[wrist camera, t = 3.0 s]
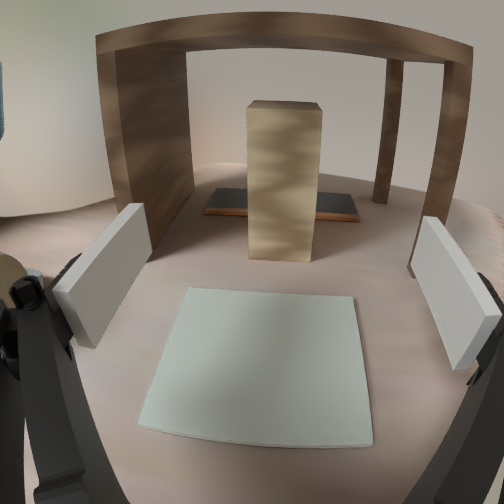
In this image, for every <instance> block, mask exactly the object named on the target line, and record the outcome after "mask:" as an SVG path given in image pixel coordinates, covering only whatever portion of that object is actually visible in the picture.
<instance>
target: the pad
mask: <svg viewBox="0 0 504 504" xmlns="http://www.w3.org/2000/svg"><path fill="white" fill-rule="evenodd" d="M137 424H138V426H139V427H143V428H147V429H151V430H156V431H161V432H165V433H170V434H175V435H181V436H186V437H192V438H198V439H204V440H211V441H218V442H226V443H234V444H244V445H255V446H267V447H285V448H354V447H371V446H372V445H373V433H372V423H371V413H370V405H369V397H368V389H367V381H366V374H365V367H364V360H363V354H362V348H361V341H360V335H359V330H358V324H357V318H356V313H355V307H354V302H353V297H352V296H327V295H305V294H286V293H268V292H252V291H237V290H223V289H209V288H197V287H188V289H187V292H186V294H185V297H184V299H183V302H182V304H181V307H180V309H179V312H178V314H177V317H176V319H175V322H174V324H173V327H172V329H171V332H170V335H169V337H168V340H167V342H166V345H165V348H164V350H163V353H162V356H161V358H160V361H159V364H158V366H157V369H156V372H155V374H154V377H153V380H152V382H151V385H150V388H149V391H148V393H147V396H146V399H145V402H144V405H143V407H142V410H141V413H140V416H139V419H138V422H137Z"/></svg>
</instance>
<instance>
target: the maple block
mask: <svg viewBox="0 0 504 504" xmlns="http://www.w3.org/2000/svg"><path fill="white" fill-rule="evenodd" d="M246 111H247V112H246V113H247V114H246V117H247V185H248V245H249V259H256V260H274V261H293V262H310V260H311V251H312V242H313V233H314V222H315V212H316V201H317V189H318V177H319V163H320V148H321V132H322V113H323V112H322V110H321V109H320V107H319V106H318V104H317V103H312V102H295V101H264V100H254V101H253V102H252V103H251V104H250V105H249V106H248V107H247V109H246Z"/></svg>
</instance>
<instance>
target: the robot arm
mask: <svg viewBox="0 0 504 504" xmlns="http://www.w3.org/2000/svg"><path fill="white" fill-rule="evenodd" d="M1 64H2V63H1V62H0V140H1V138H2V137H3V134H4V114H3V90H2V65H1ZM151 254H152V247H151V242H150V237H149V232H148V227H147V221H146V216H145V210H144V205H143V203H129V204H128V205H127V206H126V207H125V208H124V209H123V210H122V211H121V212H120V213H119V214H118V215H117V216H116V218H115V219H114V220H113V221H112V222H111V223H110V224H109V225H108V226H107V227H106V228H105V229H104V230H103V231H102V232H101V233H100V235H99V236H98V237H97V238H96V239H95V240H94V241H93V242H92V243H91V244H90V246H89V247H88V248H87V249H86V250H85V251H84V252H83V253H80V254H79V255H77V256H76V257H74V258H73V259H71V260H70V261H69V263H68V264H67V265H66V266H65V268H64V269H63V270H62V271H61V272H60V273H59V275H57V277H56V278H55V279H54V280H53V281H52V283H51V284H50V285H49V286H48V287H47V289H46V290H45V291H43V289H42V286H41V284H40V282H39V280H38V277H36V276H34V275H28V276H24V277H22V278H20V279H18V280H17V281H16V282H14V283H13V284H12V286H11V287H10V289H9V292H8V293H9V295H10V297H11V299H12V301H13V302H14V304H15V306H16V308H7V306H6V304H5V302H4V300H2V299H0V353H1V351H2V352H3V356H2V358H1V354H0V504H26V503H25V488H24V425H25V418H26V424H27V430H28V435H29V440H30V445H31V450H32V454H33V458H34V462H35V466H36V470H37V474H38V478H39V486H38V487H37V488H35V489H34V493H33V496H34V501H35V504H130V503H129V501H128V500H127V498H126V497H125V495H124V493H123V491H122V489H121V487H120V484H119V482H118V480H117V478H116V476H115V473H114V471H113V469H112V467H111V464H110V462H109V460H108V457H107V455H106V452H105V450H104V447H103V445H102V442H101V440H100V437H99V434H98V432H97V429H96V426H95V423H94V420H93V417H92V415H91V412H90V409H89V405H88V402H87V399H86V396H85V393H84V389H83V386H82V383H81V379H80V375H79V372H78V368H77V364H76V360H75V356H74V352H73V348H72V346H71V344H70V342H69V341H70V340H71V338H72V336H73V335H74V337H75V339H76V341H77V343H78V344H79V346H83V347H88V348H92V349H95V348H96V346H97V344H98V342H99V340H100V339H101V337H102V335H103V333H104V331H105V330H106V328H107V326H108V324H109V323H110V321H111V319H112V317H113V316H114V314H115V312H116V311H117V309H118V307H119V305H120V304H121V302H122V300H123V299H124V297H125V295H126V294H127V292H128V290H129V289H130V287H131V286H132V284H133V282H134V281H135V279H136V277H137V276H138V274H139V273H140V271H141V269H142V268H143V266H144V265H145V263H146V261H147V260H148V258H149V257H150V255H151ZM410 265H411V267H412V270H413V272H414V274H415V276H416V278H417V281H418V283H419V285H420V287H421V290H422V292H423V294H424V296H425V299H426V301H427V303H428V306H429V308H430V311H431V313H432V316H433V318H434V321H435V323H436V326H437V328H438V331H439V333H440V336H441V339H442V341H443V344H444V347H445V350H446V352H447V355H448V358H449V361H450V364H451V367H452V370H453V371H457V370H466V369H469V368H470V367H471V365H472V364H473V362H474V361H475V359H477V361H478V364H479V367H478V369H477V370H476V372H475V373H474V374H473V376H472V377H471V378H470V380H469V381H468V382H467V384H466V385H469V384H470V385H469V388H468V390H467V392H466V395H465V397H464V399H463V401H462V403H461V406H460V408H459V410H458V412H457V414H456V416H455V418H454V420H453V422H452V424H451V426H450V428H449V430H448V432H447V434H446V435H445V437H444V439H443V441H442V443H441V444H440V446H439V448H438V450H437V451H436V453H435V455H434V457H433V458H432V460H431V462H430V463H429V465H428V466H427V468H426V470H425V471H424V473H423V474H422V476H421V477H420V479H419V481H418V482H417V484H416V485H415V486H414V488H413V489H412V491H411V492H410V494H409V495H408V497H407V498H406V499H405V501H404V502H403V503H402V504H483V502H484V500H485V498H486V496H487V494H488V492H489V490H490V488H491V486H492V483H493V481H494V479H495V476H496V474H497V472H498V469H499V467H500V464H501V462H502V459H503V456H504V304H503V302H502V301H501V299H500V297H498V294H497V293H496V291H495V290H494V288H493V286H492V285H491V283H490V282H489V280H488V279H487V278H486V277H484V276H483V275H482V274H481V273H477V272H476V271H475V269H474V268H473V266H472V265H471V263H470V262H469V260H468V259H467V257H466V256H465V254H464V253H463V252H462V250H461V249H460V247H459V246H458V244H457V243H456V242H455V240H454V239H453V238H452V236H451V235H450V233H449V232H448V231H447V229H446V228H445V227H444V225H443V224H442V223H441V222H440V220H439V219H438V218H437V217H430V216H423V220H422V224H421V228H420V232H419V236H418V239H417V243H416V247H415V250H414V254H413V257H412V261H411V264H410ZM498 504H504V480H503V484H502V489H501V493H500V498H499V502H498Z"/></svg>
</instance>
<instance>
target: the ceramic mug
mask: <svg viewBox="0 0 504 504" xmlns="http://www.w3.org/2000/svg"><path fill="white" fill-rule="evenodd" d="M28 275H34V276H36V277H38V280H39V282H40V284H41V286H42V289H43V290H44V281H43V275H42V273H41V272H40V271H38V270H34V269H28V268H24V267H23V266H22V264H21V263H20V262H19V261H18V260H16V259H15V258H13V257H11V256H9V255H7V254H5V253H2V252H0V299H2V300H4V302H5V304H6V306H7V308H16V306H15V304H14V302H13V301H12V299H11V297H10V295H9V293H8V292H9V289H10V287H11V286H12V284H13V283H14V282H16V281H17V280H18V279H20V278H22V277H24V276H28ZM1 352H2V351H1Z"/></svg>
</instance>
